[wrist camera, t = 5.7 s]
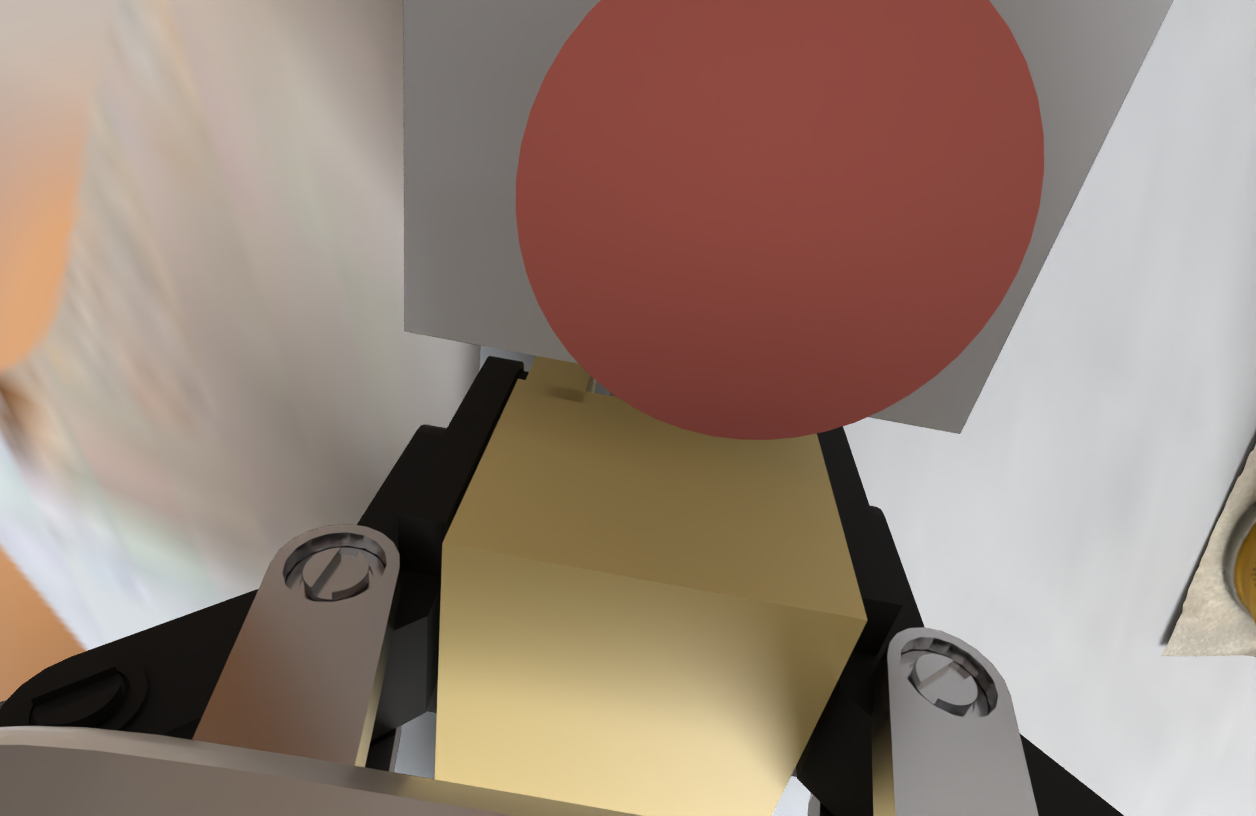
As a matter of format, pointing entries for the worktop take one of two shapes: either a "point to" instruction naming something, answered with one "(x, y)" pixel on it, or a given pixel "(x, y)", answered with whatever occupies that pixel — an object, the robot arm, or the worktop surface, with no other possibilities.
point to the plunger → (777, 202)
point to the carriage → (638, 608)
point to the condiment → (1224, 582)
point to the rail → (497, 117)
